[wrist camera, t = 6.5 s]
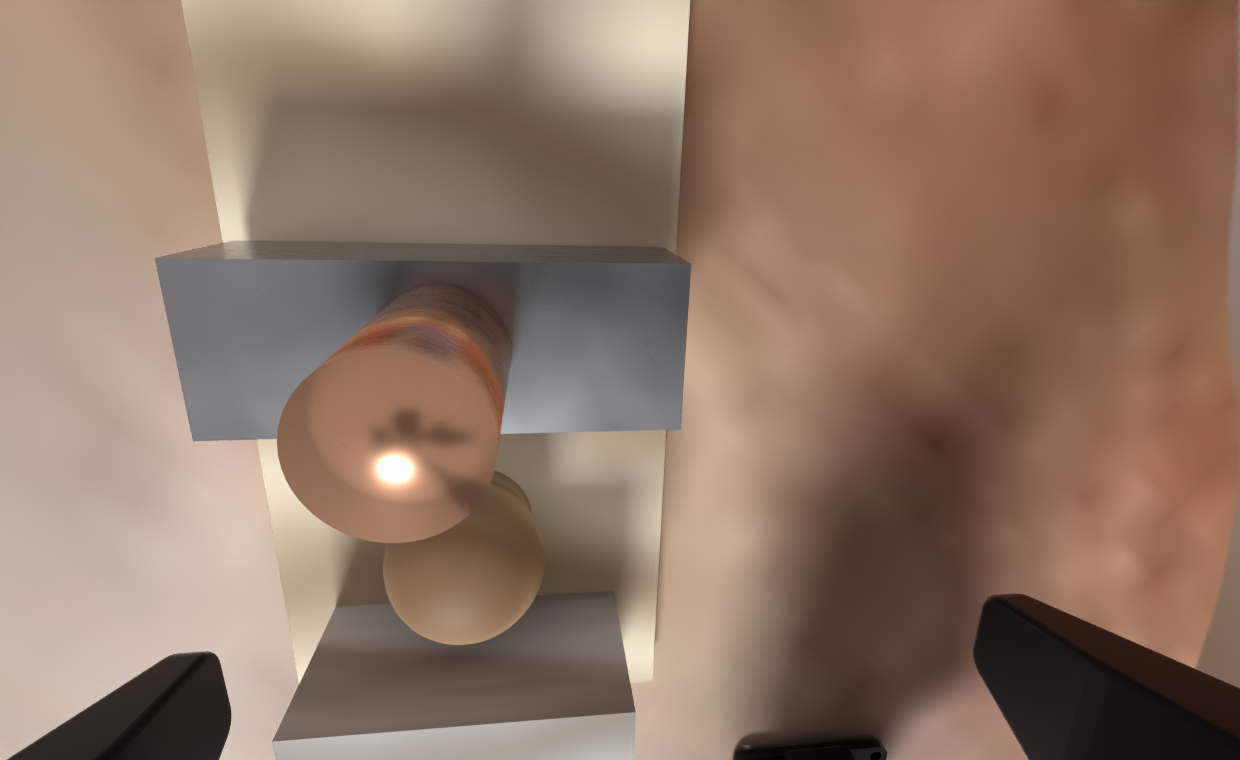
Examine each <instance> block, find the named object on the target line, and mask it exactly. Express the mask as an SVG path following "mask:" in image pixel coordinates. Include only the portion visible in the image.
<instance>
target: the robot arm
mask: <svg viewBox="0 0 1240 760" xmlns="http://www.w3.org/2000/svg"><path fill="white" fill-rule="evenodd" d="M973 657H974V662H975V665H976V667H977V670H978V672H979V674H980V676H981V677H982V679H983V681H984V682H985V684H986V686H987V688H988V689H989V691H990V693H991V695H992V696H993V698H994V700H995V702H996V703H997V705H998V707H999V709H1000V710H1001V712H1002V714H1003V716H1004V717H1005V719H1006V721H1007V723H1008V724H1009V726H1010V728H1011V730H1012V731H1013V733H1014V735H1015V737H1016V738H1017V740H1018V742H1019V744H1020V745H1021V747H1022V749H1023V751H1024V752H1025V754H1026V756H1027V758H1028V759H1029V760H1240V688H1238V687H1235V686H1233V685H1231V684H1228V683H1226V682H1224V681H1222V680H1219V679H1217V678H1215V677H1212V676H1210V675H1208V674H1205V673H1203V672H1201V671H1199V670H1196V669H1194V668H1192V667H1190V666H1187V665H1185V664H1183V663H1180V662H1178V661H1176V660H1174V659H1171V658H1169V657H1167V656H1164V655H1162V654H1160V653H1157V652H1155V651H1153V650H1151V649H1148V648H1146V647H1144V646H1141V645H1139V644H1137V643H1135V642H1132V641H1130V640H1128V639H1125V638H1123V637H1121V636H1119V635H1116V634H1114V633H1112V632H1109V631H1107V630H1105V629H1102V628H1100V627H1098V626H1096V625H1093V624H1091V623H1089V622H1086V621H1084V620H1082V619H1080V618H1077V617H1075V616H1073V615H1070V614H1068V613H1066V612H1063V611H1061V610H1059V609H1057V608H1054V607H1052V606H1050V605H1047V604H1045V603H1043V602H1041V601H1038V600H1036V599H1034V598H1031V597H1029V596H1027V595H1023V594H1003V595H993V596H990V597H988V598H987V599H986V601H985V602H984V604H983V606H982V611H981V615H980V619H979V624H978V628H977V633H976V637H975V641H974V646H973ZM230 725H231V707H230V703H229V698H228V694H227V690H226V685H225V681H224V677H223V672H222V668H221V664H220V661H219V658H218V657H217V656H216V655H215V654H214V653H212V652H208V651H205V652H191V653H178V654H173V655H170V656H168V657H166V658H165V659H163V660H161V661H160V662H158V663H157V664H155V665H154V666H152V667H150V668H149V669H147V670H146V671H144V672H143V673H141V674H140V675H138V676H136V677H135V678H133V679H132V680H130V681H129V682H127V683H126V684H124V685H122V686H121V687H119V688H118V689H116V690H115V691H113V692H112V693H110V694H108V695H107V696H105V697H104V698H102V699H101V700H99V701H98V702H96V703H94V704H93V705H91V706H90V707H88V708H87V709H85V710H83V711H82V712H80V713H79V714H77V715H76V716H74V717H73V718H71V719H69V720H68V721H66V722H65V723H63V724H62V725H60V726H59V727H57V728H55V729H54V730H52V731H51V732H49V733H48V734H46V735H45V736H43V737H41V738H40V739H38V740H37V741H35V742H34V743H32V744H31V745H29V746H27V747H26V748H24V749H23V750H21V751H20V752H18V753H16V754H15V755H13V756H12V757H10V758H9V759H7V760H219V758H220V756H221V753H222V750H223V748H224V745H225V742H226V739H227V737H228V733H229V730H230ZM886 758H887V751H886V750H885V748H884V746H883V745H882V743H881V741H879V740H877V739H868V740H857V741H846V742H835V743H824V744H813V745H802V746H791V747H780V748H769V749H758V750H747V751H742V752H740V753H739V754H737V755H736V756H735V758H734V760H886Z"/></svg>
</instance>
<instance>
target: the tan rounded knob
mask: <svg viewBox="0 0 1240 760" xmlns="http://www.w3.org/2000/svg"><path fill="white" fill-rule="evenodd" d="M544 568H545V547H544V541H543V537H542V533H541V531H540V528H539V526H538V523H537V521H536V519H535V518H534V516H533V514H532V510H531V506H530V503H529V500H528V498H527V496H526V495H525V493H524V491H523V490H522V489H521V488H520V486H519V485H518V484H517V483H515V482H514V481H513V480H512V479H510V478H509V477H507V476H506V475H504V474H502V473H499V472H497V471H494V474H493V477H492V480H491V483H490V486H489V488H488V490H487V492H486V494H485V496H484V497H483V498H482V500H481V501H480V503H479V504H478V506H477V507H476V508H475V509H474V510H473V511H472V512H471V513H470V514H469V515H468V516H467V517H466V518H464V519H463V520H462V521H461V522H460V523H458V524H456V525H455V526H453V527H452V528H450V529H448V530H446V531H444V532H442V533H440V534H438V535H435V536H432V537H429V538H426V539H422V540H418V541H413V542H404V543H387V546H386V549H385V553H384V561H383V577H384V583H385V588H386V592H387V595H388V598H389V600H390V602H391V604H392V606H393V608H394V610H395V612H396V613H397V614H398V616H399V617H400V618H401V619H402V620H403V621H404V622H405V623H406V624H407V625H408V626H409V627H410V628H411V629H412V630H413V631H415V632H416V633H418V634H420V635H421V636H423V637H425V638H427V639H430V640H432V641H436V642H439V643H443V644H450V645H467V644H475V643H479V642H483V641H486V640H489V639H491V638H493V637H495V636H497V635H499V634H501V633H502V632H504V631H505V630H507V629H509V628H510V627H511V626H512V625H514V624H515V623H516V622H517V621H518V620H519V619H520V618H521V617H522V616H523V615H524V614H525V612H526V611H527V610H528V608H529V607H530V606H531V604H532V602H533V600H534V599H535V597H536V595H537V593H538V590H539V588H540V585H541V582H542V579H543V574H544Z"/></svg>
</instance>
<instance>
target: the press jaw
mask: <svg viewBox="0 0 1240 760" xmlns="http://www.w3.org/2000/svg"><path fill="white" fill-rule="evenodd" d="M155 261H156V266H157V271H158V275H159V280H160V285H161V290H162V295H163V299H164V304H165V309H166V314H167V319H168V323H169V328H170V333H171V338H172V343H173V347H174V352H175V357H176V362H177V367H178V371H179V376H180V381H181V386H182V391H183V395H184V400H185V405H186V410H187V415H188V419H189V424H190V429H191V434H192V439H193V441H214V440H257V439H277V451H278V458H279V462H280V466H281V469H282V472H283V474H284V477H285V479H286V481H287V483H288V485H289V487H290V488H291V490H292V492H293V493H294V494H295V496H296V497H297V498H298V500H299V501H300V502H301V503H302V504H303V505H304V506H305V507H306V508H307V509H308V510H309V511H310V512H311V513H312V514H313V515H314V516H316V517H317V518H318V519H319V520H321V521H322V522H324V523H326V524H327V525H329V526H330V527H332V528H334V529H336V530H338V531H340V532H342V533H344V534H347V535H350V536H353V537H356V538H359V539H363V540H368V541H373V542H381V543H404V542H413V541H418V540H422V539H426V538H429V537H432V536H435V535H438V534H440V533H442V532H444V531H446V530H448V529H450V528H452V527H453V526H455V525H456V524H458V523H460V522H461V521H462V520H463V519H464V518H466V517H467V516H468V515H469V514H470V513H471V512H472V511H473V510H474V509H475V508H476V507H477V506H478V504H479V503H480V501H481V500H482V498H483V497H484V496H485V494H486V492H487V490H488V488H489V486H490V483H491V480H492V477H493V474H494V470H495V464H496V458H497V452H498V445H499V438H500V434H515V433H558V432H601V431H643V430H681V414H682V399H683V383H684V367H685V352H686V336H687V320H688V304H689V289H690V273H691V264H690V263H689V262H687V261H685V260H684V259H682V258H680V257H679V256H677V255H675V254H674V253H672V252H670V251H669V250H667V249H665V248H664V247H646V246H578V245H509V244H441V243H373V242H304V241H236V240H234V241H229V242H225V243H220V244H216V245H211V246H207V247H202V248H198V249H193V250H189V251H184V252H180V253H175V254H171V255H166V256H162V257H157V258H155Z"/></svg>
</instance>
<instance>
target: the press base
mask: <svg viewBox="0 0 1240 760" xmlns="http://www.w3.org/2000/svg"><path fill="white" fill-rule="evenodd" d="M181 2H182V7H183V13H184V19H185V25H186V31H187V36H188V42H189V48H190V54H191V60H192V65H193V71H194V77H195V83H196V89H197V94H198V100H199V106H200V112H201V118H202V123H203V129H204V135H205V141H206V147H207V152H208V158H209V164H210V170H211V176H212V181H213V187H214V193H215V199H216V205H217V210H218V216H219V222H220V228H221V234H222V239H223V243H225V242H229V241H234V240H236V241H304V242H373V243H441V244H509V245H578V246H646V247H664V248H665V249H667V250H669V251H670V252H672V253H674V254H675V255H676V245H677V227H678V209H679V191H680V173H681V155H682V137H683V119H684V101H685V83H686V65H687V47H688V29H689V11H690V0H181ZM257 442H258V448H259V454H260V460H261V466H262V471H263V477H264V483H265V489H266V495H267V500H268V506H269V512H270V518H271V524H272V529H273V535H274V541H275V547H276V553H277V558H278V564H279V570H280V576H281V582H282V587H283V593H284V599H285V605H286V611H287V616H288V622H289V628H290V634H291V640H292V645H293V651H294V657H295V663H296V669H297V674H298V680H299V686H298V688H297V690H296V692H295V694H294V697H293V699H292V701H291V703H290V705H289V707H288V709H287V711H286V714H285V716H284V718H283V720H282V722H281V724H280V726H279V729H278V731H277V733H276V735H275V737H274V739H273V741H272V743H273V748H274V753H275V758H276V760H633V754H634V733H635V707H634V701H633V696H632V690H631V684H630V683H634V682H648V681H652V675H653V657H654V639H655V622H656V604H657V586H658V568H659V550H660V532H661V514H662V496H663V478H664V460H665V442H666V430H643V431H601V432H558V433H515V434H500V438H499V445H498V452H497V458H496V464H495V470H494V471H497V472H499V473H502V474H504V475H506V476H507V477H509V478H510V479H512V480H513V481H514V482H515V483H517V484H518V485H519V486H520V488H521V489H522V490H523V491H524V493H525V495H526V496H527V498H528V500H529V503H530V506H531V510H532V514H533V516H534V518H535V519H536V521H537V523H538V526H539V528H540V531H541V533H542V537H543V541H544V547H545V568H544V574H543V579H542V582H541V585H540V588H539V590H538V593H537V595H536V597H535V599H534V600H533V602H532V604H531V606H530V607H529V608H528V610H527V611H526V612H525V614H524V615H523V616H522V617H521V618H520V619H519V620H518V621H517V622H516V623H515V624H514V625H512V626H511V627H510V628H509V629H507V630H505V631H504V632H502V633H501V634H499V635H497V636H495V637H493V638H491V639H489V640H486V641H483V642H479V643H475V644H467V645H450V644H443V643H439V642H436V641H432V640H430V639H427V638H425V637H423V636H421V635H420V634H418V633H416V632H415V631H413V630H412V629H411V628H410V627H409V626H408V625H407V624H406V623H405V622H404V621H403V620H402V619H401V618H400V617H399V616H398V614H397V613H396V612H395V610H394V608H393V606H392V604H391V602H390V600H389V598H388V595H387V592H386V588H385V583H384V577H383V561H384V553H385V549H386V546H387V543H381V542H373V541H368V540H363V539H359V538H356V537H353V536H350V535H347V534H344V533H342V532H340V531H338V530H336V529H334V528H332V527H330V526H329V525H327V524H326V523H324V522H322V521H321V520H319V519H318V518H317V517H316V516H314V515H313V514H312V513H311V512H310V511H309V510H308V509H307V508H306V507H305V506H304V505H303V504H302V503H301V502H300V501H299V500H298V498H297V497H296V496H295V494H294V493H293V492H292V490H291V488H290V487H289V485H288V483H287V481H286V479H285V477H284V474H283V472H282V469H281V466H280V462H279V458H278V451H277V439H257Z"/></svg>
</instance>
